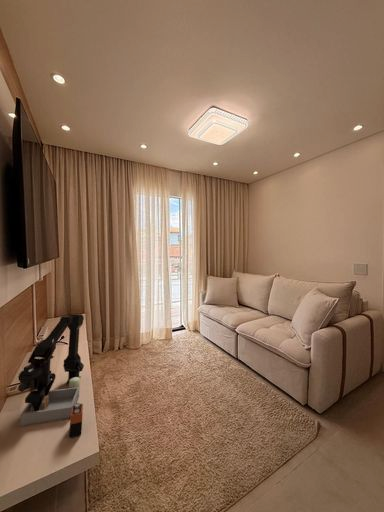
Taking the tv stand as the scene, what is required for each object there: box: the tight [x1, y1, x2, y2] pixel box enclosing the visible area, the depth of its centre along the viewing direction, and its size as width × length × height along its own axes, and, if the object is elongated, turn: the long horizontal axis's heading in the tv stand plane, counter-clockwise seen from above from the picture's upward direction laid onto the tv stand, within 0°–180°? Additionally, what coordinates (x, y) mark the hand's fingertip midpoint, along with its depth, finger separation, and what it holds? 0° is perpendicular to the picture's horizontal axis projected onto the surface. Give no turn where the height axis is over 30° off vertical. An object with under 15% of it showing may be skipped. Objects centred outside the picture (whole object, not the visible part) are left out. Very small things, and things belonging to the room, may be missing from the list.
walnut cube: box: [32, 396, 49, 412], centre depth 98 cm, size 5×5×5 cm
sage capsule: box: [68, 377, 81, 388], centre depth 113 cm, size 5×5×7 cm
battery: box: [68, 402, 84, 439], centre depth 88 cm, size 4×7×10 cm, turn 25°
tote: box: [19, 386, 81, 427], centre depth 99 cm, size 16×20×5 cm
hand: (40, 405), depth 98 cm, fingers open, 9 cm apart
